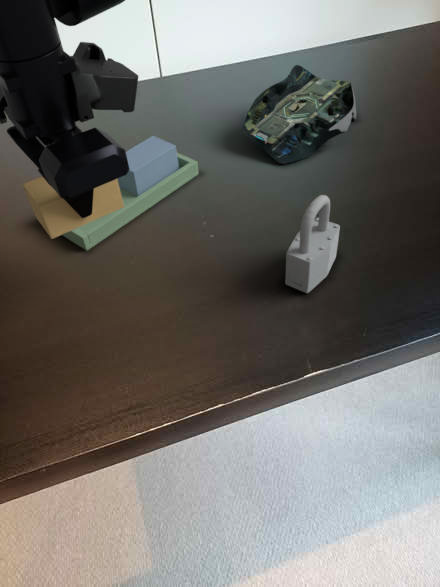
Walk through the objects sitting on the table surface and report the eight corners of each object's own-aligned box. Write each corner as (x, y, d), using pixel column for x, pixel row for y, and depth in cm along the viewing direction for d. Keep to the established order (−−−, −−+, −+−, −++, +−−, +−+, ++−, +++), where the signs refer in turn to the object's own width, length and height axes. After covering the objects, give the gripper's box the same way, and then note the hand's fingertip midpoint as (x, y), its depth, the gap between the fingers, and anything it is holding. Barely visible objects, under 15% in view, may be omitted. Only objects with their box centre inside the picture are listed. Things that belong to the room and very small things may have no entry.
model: (238, 164, 81) (321, 181, 74) (227, 110, 75) (317, 122, 68) (300, 102, 91) (378, 111, 84) (295, 50, 85) (379, 55, 78)
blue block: (138, 197, 72) (133, 172, 69) (116, 185, 74) (110, 160, 71) (179, 170, 76) (176, 145, 73) (157, 159, 78) (152, 135, 75)
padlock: (310, 247, 64) (315, 177, 57) (340, 259, 62) (350, 188, 55) (280, 283, 60) (282, 213, 53) (312, 297, 58) (318, 226, 51)
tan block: (51, 239, 52) (38, 206, 49) (35, 216, 54) (21, 184, 52) (124, 207, 54) (116, 174, 52) (105, 186, 57) (96, 154, 54)
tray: (86, 251, 66) (82, 238, 64) (43, 222, 70) (38, 210, 69) (198, 174, 76) (197, 161, 74) (154, 153, 80) (152, 141, 79)
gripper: (170, 53, 40) (192, 217, 51) (71, -8, 51) (108, 138, 62) (28, 102, 36) (87, 268, 47) (-45, 25, 47) (17, 174, 58)
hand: (76, 204), depth 54 cm, fingers closed on tan block, 4 cm apart
